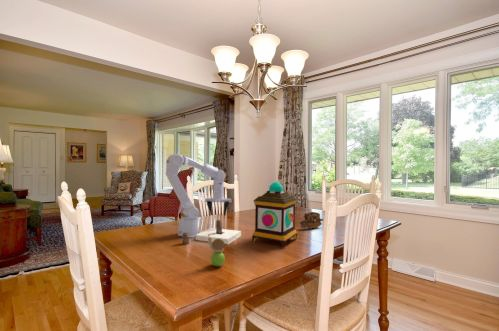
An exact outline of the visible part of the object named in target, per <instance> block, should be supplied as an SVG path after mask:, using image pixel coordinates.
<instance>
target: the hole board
mask: <svg viewBox="0 0 499 331" xmlns="http://www.w3.org/2000/svg"><path fill="white" fill-rule="evenodd" d="M198 233H199V234H197V235H196V236H195V240H196V241H201V242H208V243H209V241H208V238H209V237H211V238H212V243H213V241H214V240H215V239H218V238H219V239H222V240H223V241H224V243H225V245H230V244H231V243H232V242H234V241H235V240H237V239H239V238H240V237H241V236H242V230H235V229H228V228H227V229H226V228H222V234H216V227H210V228H208V229H205V230H203V231H201V232H198ZM208 234H210V235H209V236H208Z"/></svg>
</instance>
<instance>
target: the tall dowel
mask: <svg viewBox="0 0 499 331" xmlns="http://www.w3.org/2000/svg"><path fill="white" fill-rule="evenodd" d="M215 225H216V227H215V228H216V234H222V229H223V219H216V223H215Z"/></svg>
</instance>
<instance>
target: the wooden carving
mask: <svg viewBox="0 0 499 331" xmlns="http://www.w3.org/2000/svg"><path fill="white" fill-rule="evenodd" d="M303 217H304V219H301V220H300V221H299V223H300V226H301V228H302V229H306V228H307V229H312V228H314V229H318V228H319V227H321V225H323V224H322V221H324V218H321V214H320V213H319V212H315V211H308V212H306V213H304V216H303Z"/></svg>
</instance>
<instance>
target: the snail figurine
mask: <svg viewBox="0 0 499 331" xmlns="http://www.w3.org/2000/svg"><path fill="white" fill-rule="evenodd" d="M209 235H210V234H208V236H209ZM208 241H209V242H208V246H209V248H210V250H211V251H212V254H211V255H210V263H211V265H213V266H214V267H221V266H222V265H224V263H225V260H226V257H225V254H224V253H223V252H224V251H225V248H224V247H225V245H226V244H225V243H224V241H223V240H222V239H219V238H218V239H215V240H214V241H213V242H212V238H211V237H209V238H208Z"/></svg>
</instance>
